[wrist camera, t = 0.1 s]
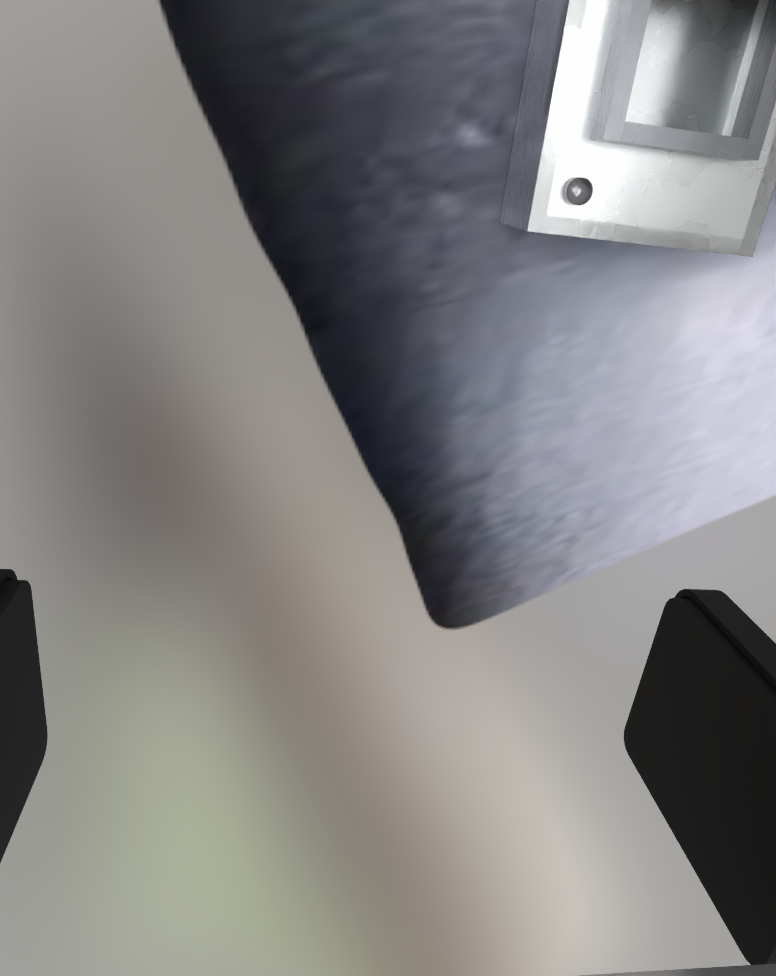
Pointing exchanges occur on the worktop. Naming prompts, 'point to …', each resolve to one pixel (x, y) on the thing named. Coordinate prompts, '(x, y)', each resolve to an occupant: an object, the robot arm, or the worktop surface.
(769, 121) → the plate
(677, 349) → the worktop surface
